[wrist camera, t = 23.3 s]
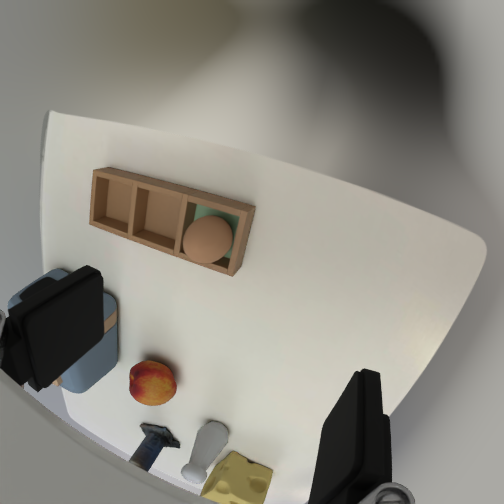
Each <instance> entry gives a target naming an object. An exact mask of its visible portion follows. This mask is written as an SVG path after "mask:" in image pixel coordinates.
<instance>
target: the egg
mask: <svg viewBox="0 0 504 504" xmlns="http://www.w3.org/2000/svg"><path fill="white" fill-rule="evenodd" d="M232 240H233V234H232V230H231V227H230V225H229V224H228V223H227V222H226V221H225V220H224V219H222V218H220V217H218V216H213V215H209V216H204V217H201V218H198V219H197V220H195V221H194V222H193V223H192V224H191V225H190V226H189V227H188V228H187V230H186V232H185V235H184V238H183V248H184V251H185V253H186V255H187V256H188V257H189V258H190V259H191V260H193V261H195V262H198V263H212V262H215V261H217V260H219V259H220V258H222V257H223V256H224V255H225V254H226V253H227V252H228V251H229V249H230V247H231V245H232Z"/></svg>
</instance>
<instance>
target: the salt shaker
mask: <svg viewBox="0 0 504 504" xmlns="http://www.w3.org/2000/svg"><path fill="white" fill-rule="evenodd" d="M227 443H228V430H227V428H226V427H225V426H224V425H223V424H222V423H218V422H214V421H211V422H210V423H208V424H206V425H204V426H202V427H201V428H200V429H199V430H198V433H197V436H196V440H195V443H194V447H193V450H192V454H191V457H190V461H189V464H186V465H184V466H183V468H182V470H181V474H182V476H183V477H184V478H185V479H186V480H188V481H190V482H192V483H196V484H200V483H203V482H204V481H205V480H206V477H207V472H206V470H207V469H208V467H209V466H210V465H211V463H212V462H213V461H214V459H215V458H216V457H217V456H218V454H219V453H220V452H221V451H222V449H223V448H224V447H225V445H226V444H227Z"/></svg>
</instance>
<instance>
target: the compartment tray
mask: <svg viewBox="0 0 504 504" xmlns="http://www.w3.org/2000/svg"><path fill="white" fill-rule="evenodd" d="M255 208H256V207H255V206H252V205H249V204H245V203H242V202H238V201H235V200H231V199H228V198H224V197H221V196H217V195H214V194H210V193H207V192H203V191H199V190H196V189H192V188H188V187H185V186H181V185H177V184H173V183H170V182H166V181H162V180H158V179H154V178H150V177H147V176H143V175H139V174H135V173H131V172H127V171H122V170H118V169H114V168H110V167H107V168H101V169H95V170H93V179H92V190H91V203H90V220H89V224H90V225H92V226H95V227H98V228H100V229H103V230H105V231H108V232H111V233H113V234H116V235H119V236H121V237H124V238H127V239H129V240H132V241H135V242H137V243H140V244H143V245H146V246H148V247H151V248H154V249H156V250H159V251H162V252H165V253H167V254H170V255H173V256H176V257H179V258H181V259H184V260H187V261H190V262H192V263H195V264H198V265H201V266H204V267H207V268H209V269H212V270H215V271H218V272H221V273H224V274H227V275H229V276H232V277H233V276H234V275H235V273H236V272H237V271H238V270H239V269H240V267H241V265H242V261H243V257H244V253H245V249H246V245H247V241H248V236H249V232H250V228H251V224H252V220H253V216H254V212H255ZM209 215H213V216H218V217H220V218H222V219H224V220H225V221H226V222H227V223H228V224H229V225H230V227H231V230H232V234H233V240H232V245H231V247H230V249H229V251H228V252H227V253H226V254H225V255H224V256H223V257H222V258H220V259H219V260H217V261H215V262H212V263H198V262H195V261H193V260H191V259H190V258H189V257H188V256H187V255H186V253H185V251H184V248H183V238H184V235H185V232H186V230H187V228H188V227H189V226H190V225H191V224H192V223H193V222H194V221H195V220H197V219H198V218H201V217H204V216H209Z"/></svg>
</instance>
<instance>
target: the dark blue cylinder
mask: <svg viewBox="0 0 504 504" xmlns="http://www.w3.org/2000/svg"><path fill="white" fill-rule="evenodd" d="M140 427H141V429H142V431H143V432H144V433H145V435H146V437H145V438H144V440H143V441H142V443H141V444H140V446H139V447H138V448H137V450H136V451H135V453H134V454H133V456H132V457H131V459H130V460H129V462H130V463H131V464H133V465H135V466H137V467H139V468H141V469H143V470H145V471H147V472H148V471H149V469H150V468H151V466H152V464H153V463H154V461H155V460H156V458H157V456H158V455H159V453H160V452H161V450H162V448H163V447H175V448H178V449H180V444H179V443H178V442H177V441H172V439H173V438H172V435H171V433H169V432H168V431H167V430H166V428H164V429H163V428H159V427H157V426H156V425H155V426H151V425H145V424H141V425H140Z"/></svg>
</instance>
